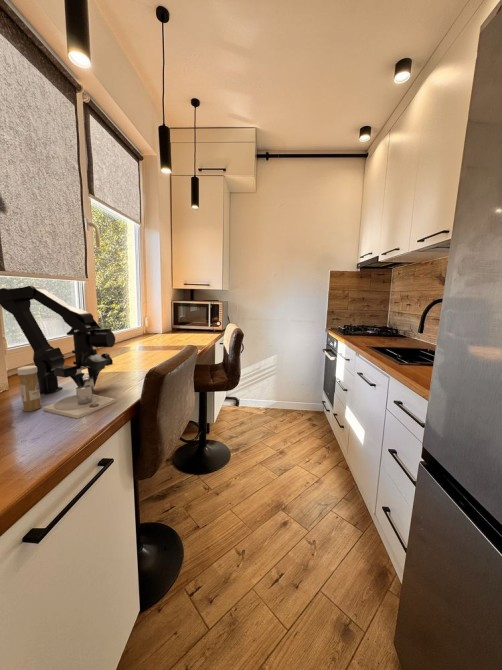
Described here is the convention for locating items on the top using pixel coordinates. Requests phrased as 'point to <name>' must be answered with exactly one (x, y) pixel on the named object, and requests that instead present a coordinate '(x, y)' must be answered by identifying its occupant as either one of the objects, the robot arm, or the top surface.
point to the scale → (78, 406)
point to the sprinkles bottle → (29, 388)
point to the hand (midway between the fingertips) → (87, 388)
